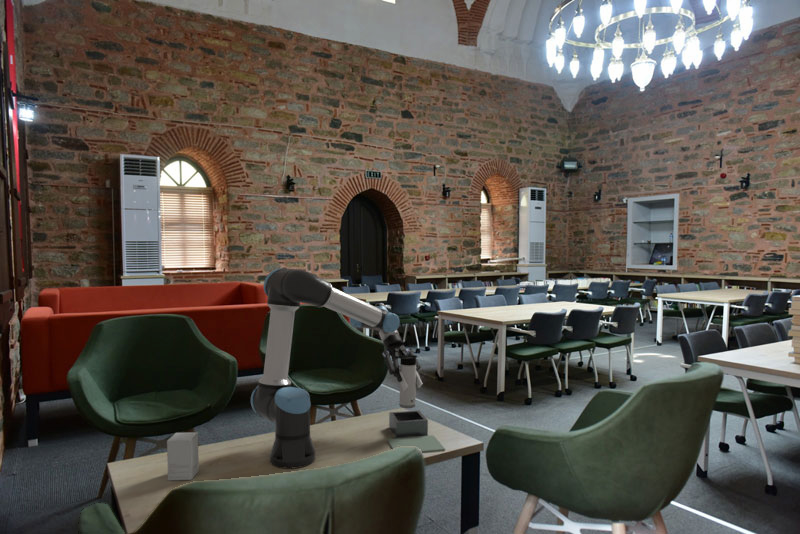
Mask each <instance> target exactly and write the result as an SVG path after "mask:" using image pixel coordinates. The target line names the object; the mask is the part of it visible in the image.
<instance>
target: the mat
mask: <svg viewBox="0 0 800 534" xmlns="http://www.w3.org/2000/svg"><path fill="white" fill-rule="evenodd" d="M387 442H388V444H389V446H390V448H391V450H393V448H396V447H400V446H416V447H418V448H419V449H421V451H422V452H423V453H432V452H433V451H435V452H441V451H440V450H445V451H446V448H445V447H444V445H442V443H441V442H440V440H438V439H437V437H436V436H435V435H433V434H432V435H428V436H416V437H404V438H396V437H395V438H387ZM398 445H399V446H398Z"/></svg>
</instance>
